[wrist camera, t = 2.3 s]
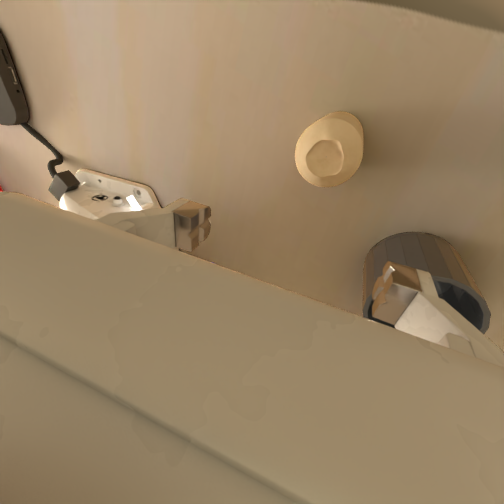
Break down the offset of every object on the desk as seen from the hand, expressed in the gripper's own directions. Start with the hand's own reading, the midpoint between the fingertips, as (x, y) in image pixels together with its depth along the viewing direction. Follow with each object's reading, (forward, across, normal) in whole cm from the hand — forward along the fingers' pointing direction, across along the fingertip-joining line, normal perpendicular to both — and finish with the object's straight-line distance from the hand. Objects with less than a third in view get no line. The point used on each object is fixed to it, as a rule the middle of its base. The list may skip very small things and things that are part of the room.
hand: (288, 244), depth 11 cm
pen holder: (+22, -13, +12) cm, 28 cm away
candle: (+22, 0, -1) cm, 22 cm away
